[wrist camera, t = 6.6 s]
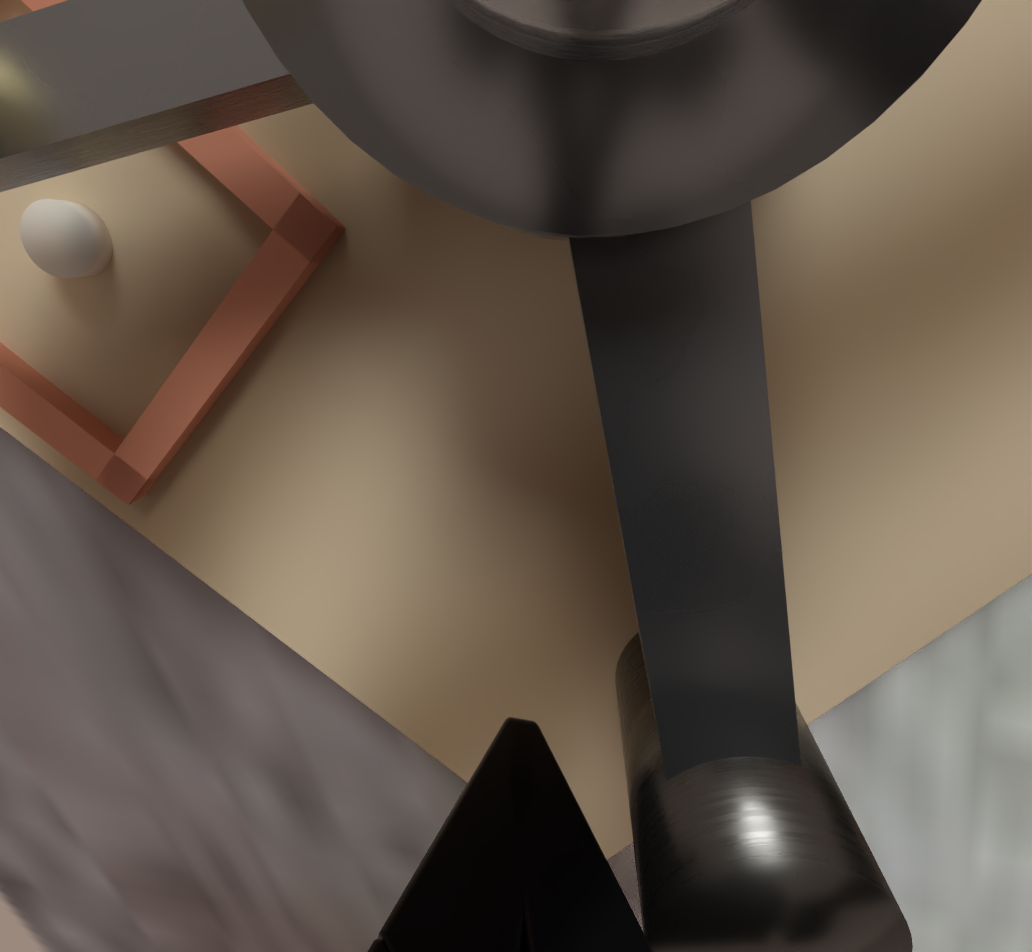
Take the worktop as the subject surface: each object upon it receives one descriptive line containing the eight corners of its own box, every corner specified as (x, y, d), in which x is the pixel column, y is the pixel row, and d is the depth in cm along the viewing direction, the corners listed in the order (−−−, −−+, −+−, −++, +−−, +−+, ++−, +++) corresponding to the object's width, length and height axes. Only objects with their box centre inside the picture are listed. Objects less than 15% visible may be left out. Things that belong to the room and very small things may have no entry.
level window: (346, 227, 8) (335, 226, 8) (144, 495, 10) (128, 505, 10) (-13, -107, 7) (-43, -126, 7) (-171, 251, 9) (-204, 251, 9)
